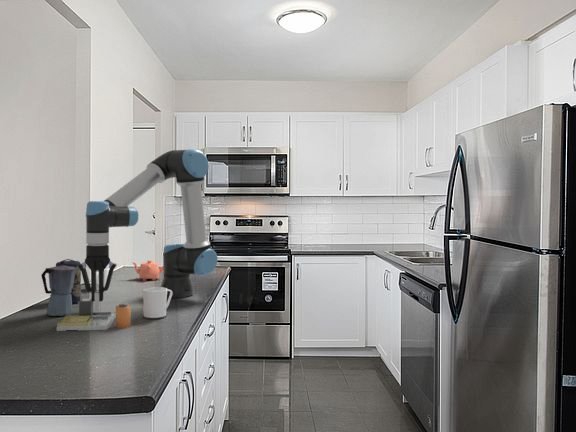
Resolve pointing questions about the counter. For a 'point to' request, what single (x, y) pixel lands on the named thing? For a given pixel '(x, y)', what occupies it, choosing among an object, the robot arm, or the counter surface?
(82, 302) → the breaker slider
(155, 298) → the mug
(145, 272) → the teapot
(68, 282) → the moka pot
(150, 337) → the counter surface
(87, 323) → the panel
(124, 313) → the cap
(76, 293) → the canister
